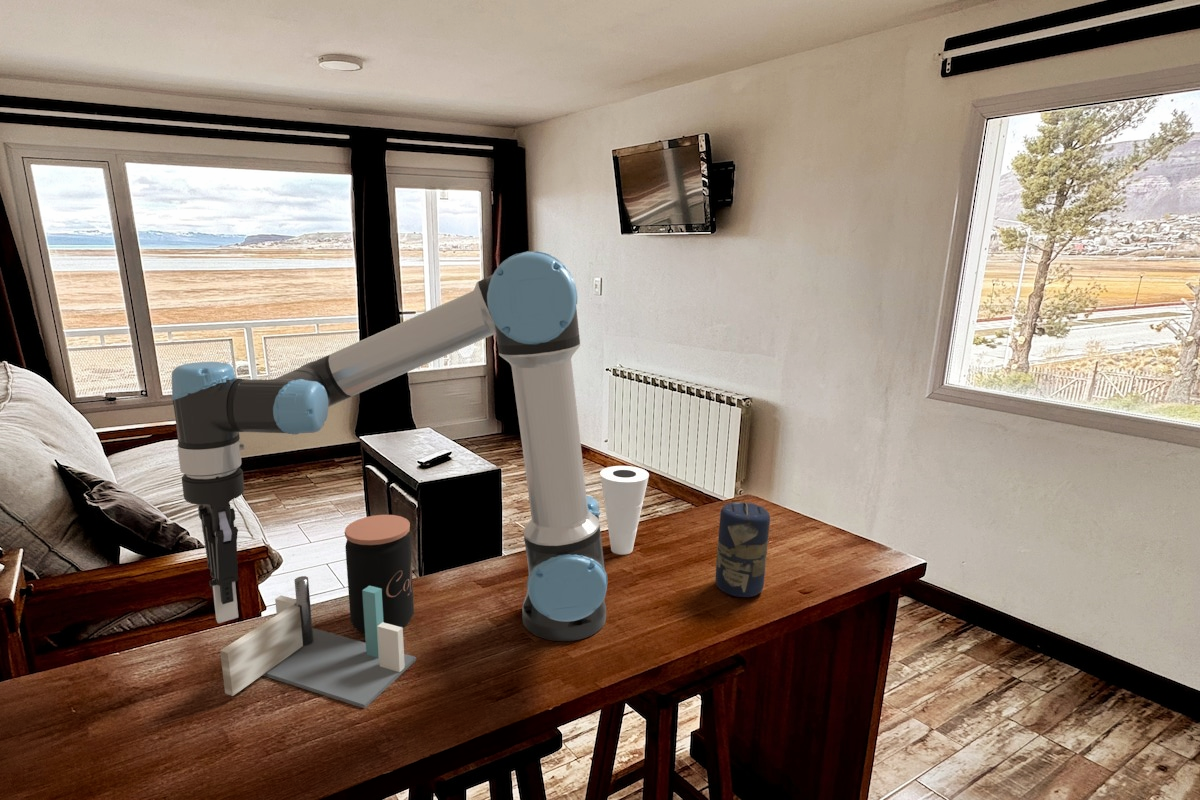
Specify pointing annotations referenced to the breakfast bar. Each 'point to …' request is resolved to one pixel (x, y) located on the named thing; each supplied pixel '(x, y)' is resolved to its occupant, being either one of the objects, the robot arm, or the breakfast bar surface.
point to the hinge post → (304, 608)
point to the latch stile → (372, 618)
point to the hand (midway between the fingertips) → (227, 618)
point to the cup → (623, 504)
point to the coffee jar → (380, 567)
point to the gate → (261, 650)
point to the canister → (742, 549)
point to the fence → (387, 639)
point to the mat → (337, 669)
